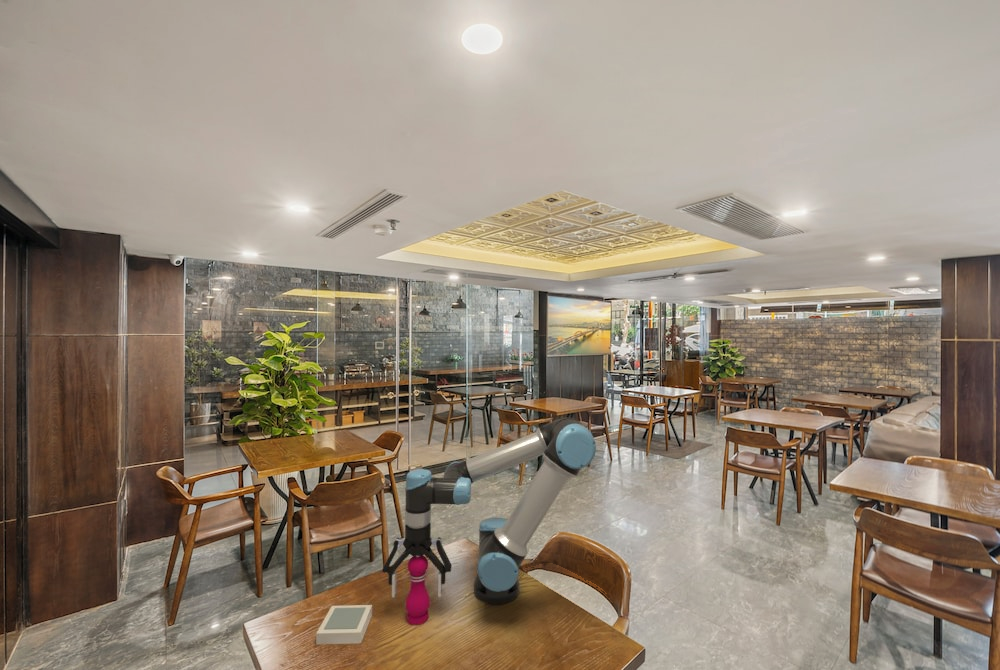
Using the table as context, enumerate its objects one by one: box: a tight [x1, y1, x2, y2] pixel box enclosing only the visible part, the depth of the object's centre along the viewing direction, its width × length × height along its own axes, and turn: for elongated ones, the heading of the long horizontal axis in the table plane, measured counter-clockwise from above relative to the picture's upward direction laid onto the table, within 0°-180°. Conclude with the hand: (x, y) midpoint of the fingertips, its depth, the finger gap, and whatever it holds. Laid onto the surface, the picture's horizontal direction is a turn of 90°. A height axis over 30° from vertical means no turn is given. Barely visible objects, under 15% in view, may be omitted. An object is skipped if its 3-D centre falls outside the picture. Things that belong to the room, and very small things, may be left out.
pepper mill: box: [404, 555, 431, 626], centre depth 128 cm, size 7×7×20 cm
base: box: [315, 604, 373, 645], centre depth 123 cm, size 12×12×3 cm
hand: (417, 594), depth 128 cm, fingers open, 13 cm apart
